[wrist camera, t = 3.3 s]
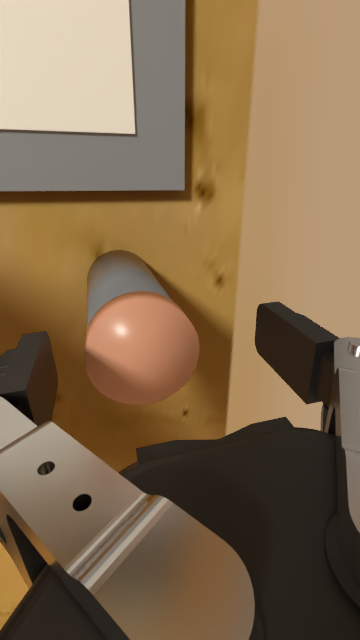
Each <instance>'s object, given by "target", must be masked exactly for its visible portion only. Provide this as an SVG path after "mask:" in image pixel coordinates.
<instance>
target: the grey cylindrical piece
mask: <svg viewBox="0 0 360 640" xmlns="http://www.w3.org/2000/svg"><path fill="white" fill-rule="evenodd" d="M199 354H200V343H199V338H198V335H197V332H196V330H195V328H194V326H193V324H192V323H191V322H190V320H189V319H188V318H187V316H186V315H185V314H184V312H183V311H182V310H181V308H180V307H179V306H178V305H177V304H176V303H175V302H173V301H172V300H171V298H170V297H169V296H168V294H167V293H166V291H165V290H164V289H163V287H162V286H161V285H160V283H159V282H158V280H157V279H156V278H155V276H154V275H153V274H152V272H151V271H150V269H149V268H148V267H147V265H146V264H145V263H144V261H143V260H142V259H141V258H140V257H138V256H137V255H135V254H133V253H131V252H128V251H123V250H115V251H110V252H107V253H105V254H103V255H101V256H100V257H98V258H97V259H96V260H95V261H94V263H93V264H92V266H91V267H90V270H89V273H88V279H87V331H86V335H85V367H86V372H87V374H88V377H89V379H90V381H91V382H92V384H93V385H94V386H95V388H96V389H97V390H98V391H99V392H100V393H102V394H103V395H104V396H106V397H107V398H109V399H111V400H114V401H116V402H119V403H123V404H129V405H144V404H150V403H154V402H157V401H160V400H163V399H165V398H167V397H169V396H171V395H172V394H174V393H175V392H177V391H178V390H179V389H180V388H181V387H183V386H184V385H185V383H186V382H187V381H188V380H189V379H190V377H191V376H192V374H193V372H194V370H195V368H196V366H197V363H198V359H199Z"/></svg>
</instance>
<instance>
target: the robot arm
mask: <svg viewBox="0 0 360 640" xmlns="http://www.w3.org/2000/svg"><path fill="white" fill-rule="evenodd" d="M255 345H256V349H257V352H258V353H259V355H260V356H261V357H262V358H263V359H264V360H265V361H266V362H267V363H268V364H269V365H270V366H271V367H272V368H273V369H274V370H275V372H276V373H277V374H278V375H279V376H280V377H281V378H282V379H283V380H284V381H285V382H286V383H287V384H288V385H289V386H290V387H291V388H292V389H293V391H294V392H295V393H296V394H297V395H298V396H299V397H300V398H301V399H302V400H303V401H304V402H305V403H306V404H310V403H315V402H320V401H322V402H323V406H322V412H321V431H318V430H314V429H308V428H296V427H293V425H292V424H291V423H290V421H289V420H288V419H287V418H286V417H282V418H278V419H273V420H268V421H263V422H259V423H255V424H251V425H248V426H247V427H244V428H242V429H240V430H238V431H236V432H234V433H231V434H229V435H227V436H225V437H223V438H221V439H216V440H174V441H169V442H165V443H160V444H155V445H151V446H146V447H141V448H136V452H137V460H138V462H136V463H134V464H131V465H130V466H128V467H126V468H125V469H123V470H121V471H120V472H119V473H118V472H116V471H115V470H114V469H113V468H111V467H110V466H109V465H107V464H106V463H105V462H103V461H102V460H101V459H100V458H98V457H97V456H96V455H94V454H93V453H92V452H91V451H89V450H88V449H87V448H85V447H84V446H83V445H82V444H80V443H79V442H78V441H76V440H75V439H74V438H72V437H71V436H70V435H69V434H67V433H66V432H65V431H63V430H62V429H61V428H60V427H58V426H57V425H56V424H54V423H53V422H51V420H52V414H53V409H54V403H55V397H56V392H57V385H58V380H57V371H56V367H55V362H54V358H53V353H52V349H51V345H50V340H49V337H48V334H47V332H46V331H44V332H36V333H28V334H23V335H22V337H21V339H20V341H19V343H18V345H17V347H16V349H12V350H7V351H6V352H5V353H3V354H2V355H1V356H0V542H1V543H2V545H3V546H4V548H5V549H6V550H7V552H8V553H9V555H10V556H11V558H12V559H13V561H14V563H15V565H16V566H17V568H18V570H19V572H20V574H21V576H22V578H23V579H24V581H25V583H26V584H27V586H28V588H29V590H28V592H27V593H26V594H25V596H24V597H23V599H22V600H21V602H20V603H19V604H18V606H17V607H16V609H15V610H14V612H13V613H12V614H11V616H10V617H9V619H8V620H7V622H6V623H5V624H4V626H3V627H2V629H1V630H0V640H360V338H353V337H346V338H338V337H337V336H335V335H333V334H332V333H330V332H329V331H327V330H326V329H324V328H323V327H320V326H319V325H318V324H316V323H315V322H314V323H313V321H312V320H310V319H309V318H307V317H306V316H304V315H301V314H298V313H295V312H294V311H292V310H291V309H289V308H288V307H286V306H285V305H283V304H282V303H280V302H271V303H263V304H260V305H259V306H258V308H257V318H256V331H255Z"/></svg>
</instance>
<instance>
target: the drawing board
mask: <svg viewBox="0 0 360 640" xmlns="http://www.w3.org/2000/svg"><path fill="white" fill-rule="evenodd" d="M134 190H185V0H0V191H134Z"/></svg>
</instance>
